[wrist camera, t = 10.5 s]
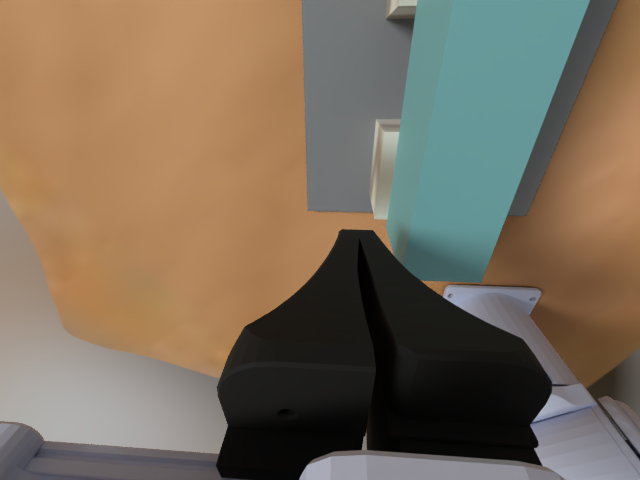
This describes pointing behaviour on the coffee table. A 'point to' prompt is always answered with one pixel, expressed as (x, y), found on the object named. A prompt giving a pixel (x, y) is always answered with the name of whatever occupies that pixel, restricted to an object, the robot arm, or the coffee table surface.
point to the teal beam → (471, 125)
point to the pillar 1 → (383, 165)
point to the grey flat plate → (396, 96)
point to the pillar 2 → (401, 9)
